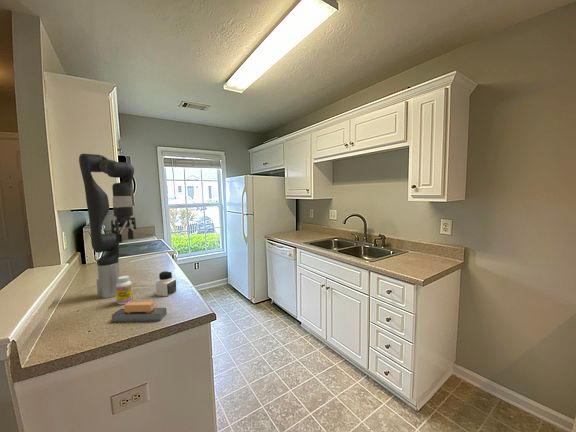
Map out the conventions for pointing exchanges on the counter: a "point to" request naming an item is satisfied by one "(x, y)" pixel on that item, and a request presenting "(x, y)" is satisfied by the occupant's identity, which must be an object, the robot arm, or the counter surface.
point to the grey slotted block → (139, 315)
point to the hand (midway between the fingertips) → (125, 240)
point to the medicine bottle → (165, 284)
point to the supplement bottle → (124, 290)
